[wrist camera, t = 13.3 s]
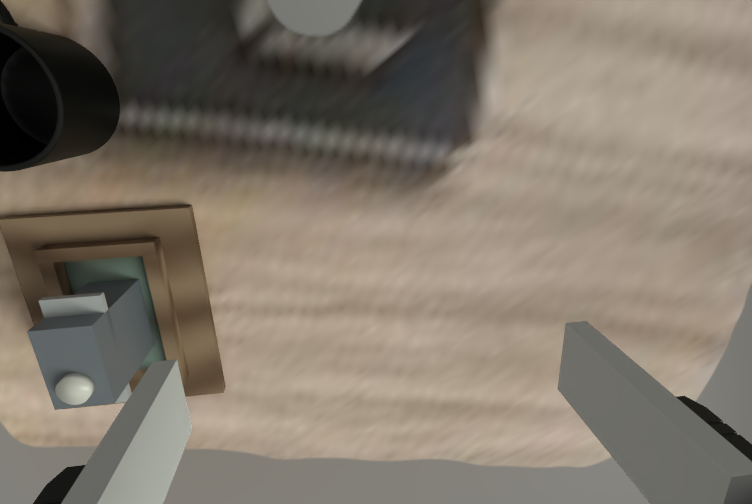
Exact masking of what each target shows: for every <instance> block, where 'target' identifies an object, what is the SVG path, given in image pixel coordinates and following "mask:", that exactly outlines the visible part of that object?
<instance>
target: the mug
mask: <svg viewBox="0 0 752 504" xmlns="http://www.w3.org/2000/svg"><path fill="white" fill-rule="evenodd" d="M0 21H1V23H0V171H16V170H22V169H26V168H30V167H34V166H38V165H42V164H47V163H51V162H55V161H59V160H63V159H67V158H71V157H76V156H80V155H84V154H87V153H90V152H93V151H95V150H97V149H98V148H100V147H101V146H103V145H104V144H105V143H106V142H107V141H108V140H109V139H110V137H111V136H112V134H113V133H114V131H115V129H116V126H117V124H118V119H119V113H120V104H119V97H118V93H117V89H116V86H115V84H114V82H113V79H112V77H111V76H110V74H109V72H108V71H107V69H106V68H105V67H104V65H103V64H102V63H101V62H100V61H99V59H98V58H96V57H95V56H94V55H93V54H92V53H91V52H90V51H88V50H87V49H86V48H84V47H83V46H81V45H79V44H78V43H76V42H74V41H72V40H69V39H67V38H64V37H61V36H56V35H52V34H48V33H43V32H39V31H35V30H30V29H26V28H22V27H18V25H17V24H16V23H15V22H14V20H13V18H12V16H11V14H10V13H9V11H8V10H7V8H6V7H5V5H4V4H3V3H2V2H1V0H0Z"/></svg>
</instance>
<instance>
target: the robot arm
mask: <svg viewBox="0 0 752 504" xmlns="http://www.w3.org/2000/svg"><path fill="white" fill-rule="evenodd" d="M558 390H559V391H560V392H561V394H562V395H563V396H564V397H565V399H566V400H567V401H568V402H569V404H570V405H571V406H572V407H573V409H574V410H575V411H576V412H577V413H578V415H579V416H580V417H581V418H582V420H583V421H584V422H585V423H586V425H587V426H588V427H589V428H590V430H591V431H592V432H593V433H594V435H595V436H596V437H597V438H598V440H599V441H600V442H601V443H602V445H603V446H604V447H605V448H606V449H607V451H608V452H609V453H610V454H611V456H612V457H613V458H614V459H615V461H616V462H617V463H618V464H619V466H620V467H621V468H622V469H623V470H624V472H625V473H626V474H627V476H628V477H629V478H630V479H631V481H632V482H633V483H634V484H635V485H636V487H637V488H638V489H639V490H640V492H641V493H642V494H643V495H644V497H645V498H646V499H647V500H648V502H649V503H650V504H752V444H750V443H749V442H748V441H747V440H745V439H744V438H743V437H742V436H741V435H737V433H736V431H734V430H733V429H732V428H731V427H730V426H728V425H727V424H724V423H723V421H722V420H721V419H720V418H718V417H717V416H716V415H715V414H713V413H712V412H711V411H710V410H709V409H707V408H706V407H704V406H703V405H700V404H698V403H697V402H695V401H693V400H691V399H689V398H687V397H685V396H680V397H675V396H674V395H673V394H672V393H671V392H669V391H668V390H667V389H666V388H665V387H663V386H662V385H661V384H660V383H659V382H658V381H656V380H655V379H654V378H653V377H652V376H651V375H649V374H648V373H647V372H646V371H645V370H643V369H642V368H641V367H640V366H639V365H638V364H636V363H635V362H634V361H633V360H632V359H631V358H629V357H628V356H627V355H626V354H625V353H623V352H622V351H621V350H620V349H619V348H618V347H616V346H615V345H614V344H613V343H612V342H611V341H609V340H608V339H607V338H606V337H605V336H603V335H602V334H601V333H600V332H599V331H598V330H596V329H595V328H594V327H593V326H592V325H590V324H589V323H588V322H587V321H582V322H572V323H566V325H565V333H564V342H563V350H562V358H561V366H560V374H559V382H558ZM191 431H192V425H191V420H190V416H189V411H188V407H187V402H186V398H185V393H184V389H183V384H182V380H181V375H180V371H179V366H178V361H177V359H176V360H165V361H155V362H152V363H151V364H150V366H149V368H148V369H147V371H146V372H145V374H144V375H143V377H142V378H141V380H140V382H139V383H138V385H137V386H136V388H135V389H134V391H133V392H132V394H131V396H130V397H129V399H128V400H127V402H126V403H125V405H124V406H123V408H122V410H121V411H120V413H119V414H118V416H117V417H116V419H115V420H114V422H113V424H112V425H111V427H110V428H109V430H108V431H107V433H106V434H105V436H104V438H103V439H102V441H101V442H100V444H99V445H98V447H97V448H96V450H95V452H94V453H93V455H92V456H91V458H90V460H89V461H88V462H87V464H86V465H82V466H74V467H67V468H65V469H64V470H63V471H62V472H61V473H60V474H59V475H57V476H56V477H55V478H54V479H53V480H52V481H50V483H48V484H47V485H46V486H45V488H44V489H43V490H42V492H41V493H40V495H39V496H38V497H37V499H36V500H35V502H34V503H33V504H163V502H164V499H165V497H166V494H167V492H168V489H169V487H170V484H171V482H172V479H173V477H174V474H175V471H176V469H177V466H178V464H179V461H180V459H181V456H182V454H183V451H184V449H185V446H186V443H187V441H188V438H189V436H190V433H191Z"/></svg>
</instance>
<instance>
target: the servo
mask: <svg viewBox="0 0 752 504" xmlns="http://www.w3.org/2000/svg"><path fill="white" fill-rule="evenodd" d="M39 304H40V307H41V310H42V313H43V316H44V319H43V320H41V321H40V322H39V323H37V324H36V325H35V326H34V327H32V328H31V329H30V330H29V331H27V332H28V335H29V338H30V341H31V343H32V346H33V349H34V352H35V355H36V358H37V360H38V363H39V366H40V369H41V372H42V374H43V377H44V380H45V383H46V386H47V389H48V391H49V394H50V397H51V400H52V403H53V406H54V408H55V410H56V409H66V408H75V407H85V406H94V405H104V404H113V403H122V402H127V400H128V399H129V397H130V396H131V394H132V392H131V389H130V385H129V382H130V380H131V379H132V377H133V376H134V374H135V373H136V371H137V370H138V368H139V367H140V365H141V364H142V362H143V361H144V359H145V358H146V357H147V355H148V354H149V352H150V351H151V349H152V348H153V346H154V345H155V341H154V337H153V333H152V329H151V325H150V321H149V317H148V313H147V309H146V305H145V301H144V297H143V293H142V288H141V284H140V280H139V279H131V280H118V281H106V282H94V283H88V284H87V285H85V286H84V287H83V288H81V289H80V290H79V291H78V292H76V293H75V294H74V295H66V296H54V297H43V298H42V299H40V300H39Z"/></svg>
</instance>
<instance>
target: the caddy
mask: <svg viewBox="0 0 752 504" xmlns="http://www.w3.org/2000/svg"><path fill="white" fill-rule="evenodd" d="M0 227H1V230H2V233H3V236H4V239H5V242H6V244H7V247H8V250H9V253H10V256H11V259H12V262H13V265H14V268H15V271H16V274H17V277H18V280H19V283H20V286H21V288H22V291H23V294H24V297H25V300H26V303H27V306H28V309H29V312H30V315H31V318H32V321H33V324H34V326H35V325H36V324H37V323H39V322H40V321H41V320H43V319H44V316H43V313H42V310H41V307H40V304H39V300H40V299H42V298H43V297H54V296H66V295H74V294H75V293H76V292H78V291H79V290H80V289H81V288H83V287H84V286H85V285H87V284H88V283H94V282H106V281H118V280H131V279H139V280H140V284H141V288H142V293H143V297H144V301H145V305H146V309H147V313H148V317H149V321H150V325H151V329H152V333H153V337H154V341H155V345H154V346H153V348H152V349H151V351H150V352H149V354H148V355H147V357H146V358H145V359H144V361H143V362H142V364H141V365H140V367H139V368H138V370H137V371H136V373H135V374H134V376H133V377H132V379H131V380H130V382H129V385H130V389H131V392H133V391H134V389H135V388H136V386H137V385H138V383H139V382H140V380H141V378H142V377H143V375H144V374H145V372H146V371H147V369H148V368H149V366H150V364H151V363H152V362H155V361H165V360H176V359H177V361H178V366H179V371H180V375H181V380H182V384H183V389H184V393H185V397H186V396H196V395H205V394H215V393H224V390H225V381H224V376H223V371H222V365H221V360H220V354H219V349H218V344H217V338H216V333H215V327H214V322H213V316H212V311H211V306H210V300H209V295H208V289H207V284H206V278H205V273H204V268H203V262H202V257H201V251H200V246H199V241H198V235H197V230H196V224H195V219H194V213H193V208H192V205H188V206H173V207H157V208H141V209H125V210H109V211H93V212H77V213H61V214H45V215H29V216H13V217H4V218H2V219H0ZM122 403H126V402H122ZM113 404H118V403H113ZM104 405H108V404H104ZM94 406H98V405H94ZM85 407H88V406H85ZM75 408H79V407H75ZM66 409H69V408H66Z"/></svg>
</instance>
